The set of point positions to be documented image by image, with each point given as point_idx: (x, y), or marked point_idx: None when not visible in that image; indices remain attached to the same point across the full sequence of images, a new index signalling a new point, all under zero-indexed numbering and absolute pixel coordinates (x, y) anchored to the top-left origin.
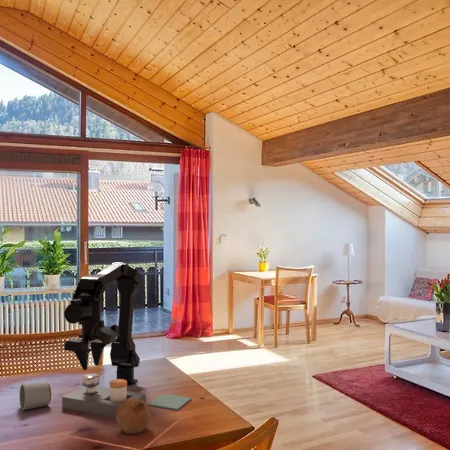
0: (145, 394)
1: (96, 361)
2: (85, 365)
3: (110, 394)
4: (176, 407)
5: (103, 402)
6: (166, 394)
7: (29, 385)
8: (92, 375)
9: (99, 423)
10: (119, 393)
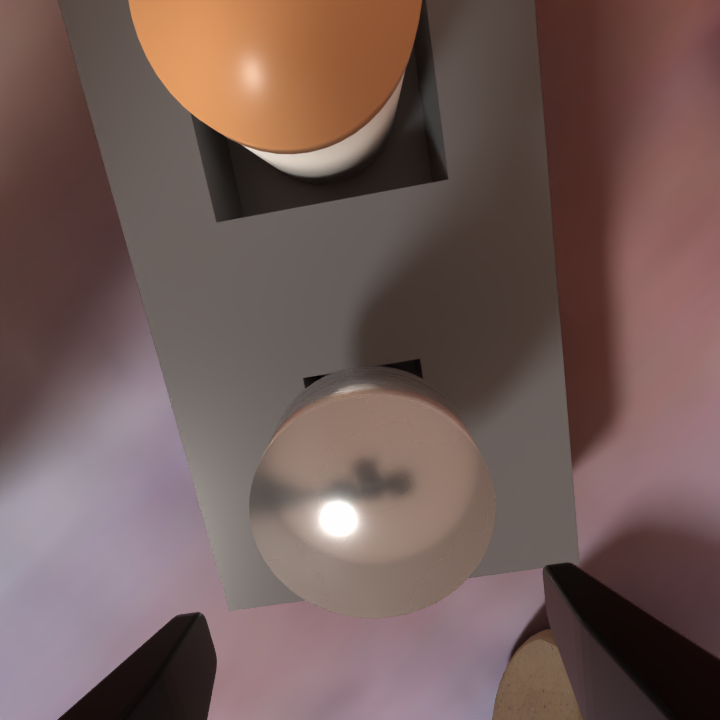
0: None
1: (180, 691)
2: (656, 632)
3: (395, 102)
4: None
5: (508, 108)
6: None
7: None
8: (326, 526)
9: (619, 39)
10: None
